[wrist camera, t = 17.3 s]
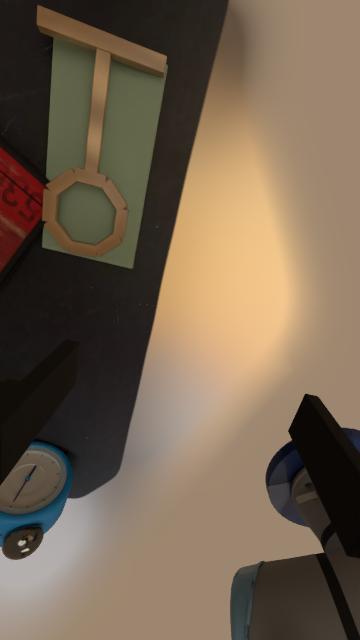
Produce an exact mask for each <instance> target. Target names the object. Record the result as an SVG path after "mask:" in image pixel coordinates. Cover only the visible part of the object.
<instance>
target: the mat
mask: <svg viewBox="0 0 360 640" xmlns="http://www.w3.org/2000/svg"><path fill="white" fill-rule="evenodd" d="M95 57H96V53H94V52H91V51H89V50H86V49H83V48H81V47H78V46H75V45H73V44H70V43H67V42H65V41H62V40H59V39H57V38H54V41H53V59H52V77H51V95H50V114H49V132H48V150H47V168H46V178H48V179H49V180H50V181H52V180H53V179H55V178H56V177H58V176H59V175H60V174H62V173H63V172H65V171H66V170H67V169H69V168H72V169H75V167H78V168H82V169H84V167H85V157H86V147H87V137H88V127H89V117H90V107H91V97H92V87H93V77H94V67H95ZM167 69H168V65H167V64H166V66H165V71H164V76H163V78H160V77H158V76H155V75H152V74H150V73H147V72H144V71H142V70H139V69H136V68H134V67H131V66H129V65H126V64H123V63H121V62H118V61H115V60H113V59H112V64H111V72H110V81H109V89H108V98H107V106H106V115H105V123H104V132H103V140H102V149H101V157H100V166H99V173H100V174H103V175H106V176H107V180H108V179H111V180H112V181H113V183H114V184H115V186H116V187H117V189H118V191H119V192H120V194H121V195H122V197H123V198H124V200H125V202H126V203H127V205H128V206H127V207H126V208H124V209H128V210H129V213H128V219H127V225H126V231H125V237H124V239H122V238H121V239H122V243H120V244H119V245H117V246H116V247H114V248H113V249H111V250H110V251H108V252H107V253H105V254H104V255H102V256H101V257H99V255H98V254H97V257H96V258H95V257H90V256H85V255H80V254H75V253H70V252H67V250H68V247H67V248H66V249H63V248H62V247H61V246H60V245H59V243H58V242H57V241H56V240H55V238H54V237H53V236H52V235H51V233H50V232H49V231H48V230H47V228H46V227H45V226H44V227H43V242H42V247H43V248H47V249H51V250H55V251H60V252H64V253H68V254H72V255H76V256H80V257H85V258H89V259H93V260H97V261H101V262H105V263H110V264H114V265H118V266H122V267H126V268H130V269H133V265H134V259H135V253H136V247H137V242H138V236H139V230H140V224H141V219H142V213H143V207H144V202H145V196H146V190H147V184H148V179H149V173H150V167H151V161H152V156H153V150H154V144H155V138H156V133H157V127H158V121H159V115H160V110H161V104H162V98H163V92H164V87H165V81H166V75H167ZM115 217H116V208H115V207H114V205H113V204H112V202H111V201H110V199H109V198H108V196H107V195H106V193H105V192H104V190H103V189H102V188H100V187H96V186H92V185H88V184H85V183H81V182H78V183H76V184H75V185H73V186H72V187H71V188H69V189H68V190H66V191H65V192H64V193H62V194H61V195H60V196H59V210H58V221H59V222H60V223H61V224H62V226H63V227H64V228H65V230H66V231H67V232H68V234H69V235H70V236H71V237H72V239H73V240H77V241H82V242H87V243H91V244H97V243H99V242H100V241H102V240H103V239H105V238H106V237H108V236H109V235H111V234H112V233H113V231H114V224H115Z"/></svg>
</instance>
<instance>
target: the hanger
mask: <svg viewBox="0 0 360 640" xmlns="http://www.w3.org/2000/svg"><path fill="white" fill-rule="evenodd" d="M37 26H38V28H39V30H40V31H41V33H43V34H46V35H49V36H51V37H54V38H57V39H59V40H62V41H65V42H67V43H70V44H73V45H75V46H78V47H81V48H83V49H86V50H89V51H91V52H94V53H96V57H95V67H94V77H93V87H92V97H91V107H90V117H89V127H88V137H87V147H86V157H85V167H84V169H82V168H78V167H75V169H72V168H69V169H67V170H66V171H65V172H63V173H62V174H60V175H59V176H58V177H56V178H55V179H53V180H52V181H51V182H49V183H48V184H46V186H47V188H48V189H44V191H43V210H42V221H46V223H45V224H44V226H45V227H46V228H47V230H48V231H49V232H50V233H51V235H52V236H53V237H54V238H55V240H56V241H57V242H58V243H59V245H60V246H61V247H62V248H63V249H66V248H67V247H68V250H67V252H70V253H75V254H80V255H85V256H90V257H95V258H96V257H97V254H98V255H99V257H101V256H102V255H104V254H105V253H107V252H108V251H110V250H111V249H113V248H114V247H116V246H117V245H119V244H120V243H122V239H124V237H125V231H126V225H127V219H128V213H129V210H128V209H124V208H126V207H127V206H128V205H127V203H126V202H125V200H124V198H123V197H122V195H121V194H120V192H119V191H118V189H117V187H116V186H115V184H114V183H113V181H112V180H111V179H108V180H107V176H106V175H103V174H100V173H99V166H100V157H101V149H102V140H103V132H104V123H105V115H106V106H107V98H108V89H109V81H110V72H111V64H112V59H113V60H115V61H118V62H121V63H123V64H126V65H129V66H131V67H134V68H136V69H139V70H142V71H144V72H147V73H150V74H152V75H155V76H158V77H160V78H163V76H164V71H165V66H166V60H167V56H165V55H162V54H160V53H157V52H155V51H152V50H150V49H147V48H145V47H142V46H140V45H137V44H135V43H132V42H130V41H127V40H125V39H122V38H119V37H117V36H114V35H112V34H109V33H107V32H104V31H102V30H99V29H97V28H94V27H92V26H89V25H87V24H84V23H82V22H79V21H77V20H74V19H72V18H69V17H67V16H64V15H62V14H59V13H57V12H54V11H52V10H49V9H47V8H44V7H42V6H39V5H37ZM78 182H81V183H85V184H88V185H92V186H96V187H100V188H102V189H103V190H104V192H105V193H106V195H107V196H108V198H109V199H110V201H111V202H112V204H113V205H114V207H115V208H116V217H115V224H114V231H113V233H112V234H111V235H109V236H108V237H106V238H105V239H103V240H102V241H100V242H99V243H97V244H91V243H87V242H82V241H77V240H73V239H72V237H71V236H70V235H69V234H68V232H67V231H66V230H65V228H64V227H63V226H62V224H61V223H60V222H59V221H58V210H59V196H60V195H61V194H62V193H64V192H65V191H66V190H68V189H69V188H71V187H72V186H73V185H75V184H76V183H78ZM121 238H122V239H121Z"/></svg>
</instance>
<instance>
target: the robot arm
mask: <svg viewBox="0 0 360 640" xmlns="http://www.w3.org/2000/svg"><path fill="white" fill-rule="evenodd" d="M79 345H80V342H75V341H71V340H67V339H66V340H65V341H64V342H63V343H62V344H61V345H60V346H58V347H57V348H56V349H55V350H54V351H53V352H52V353H51V354H50V355H49V356H48V357H46V358H45V359H44V360H43V361H42V362H41V363H40V364H39V365H38V366H37V367H36V368H34V369H33V370H32V371H31V372H30V373H29V374H28V375H27V376H26V377H25V378H24V379H22V380H21V381H16V380H11V379H8V380H6V381H4V382H1V383H0V486H1V484H2V483H3V482H4V480H5V479H6V478H7V476H8V475H9V473H10V472H11V471H12V469H13V468H14V467H15V465H16V464H17V463H18V461H19V460H20V458H21V457H22V456H23V454H24V453H25V452H26V450H27V449H28V448H29V446H30V445H31V443H32V442H33V441H34V439H35V438H36V437H37V435H38V434H39V432H40V431H41V430H42V428H43V427H44V426H45V424H46V423H47V422H48V420H49V419H50V417H51V416H52V415H53V413H54V412H55V411H56V409H57V408H58V407H59V405H60V404H61V402H62V401H63V400H64V398H65V397H66V396H67V394H68V393H69V391H70V390H71V389H72V387H73V386H74V385H75V379H76V371H77V362H78V354H79ZM288 432H289V434H290V436H291V438H292V440H293V443H294V445H295V447H296V449H297V451H298V453H299V455H300V457H301V460H302V462H303V464H304V466H303V467H302V468H300V469H299V470H298V471H297V473H296V474H295V475H294V477H293V479H292V481H291V484H290V495H291V498H292V500H293V503H294V505H295V507H296V509H297V511H298V512H299V514H300V515H301V517H302V518H303V519H304V521H305V522H306V523H307V525H308V526H309V527H310V529H311V530H312V531H313V533H314V534H315V535H316V537H317V538H318V539H319V541H320V543H321V545H322V547H323V550H324V552H325V553H319V554H313V555H307V556H300V557H295V558H289V559H283V560H275V561H269V562H264V561H261V562H259V563H258V564H255V565H251V566H246V567H243V568H240V569H239V570H238V571H237V572H236V574H235V576H234V578H233V583H232V587H231V600H230V618H231V636H232V640H360V453H359V451H358V450H357V449H356V447H355V446H354V445H353V443H352V442H351V441H350V439H349V438H348V436H347V435H346V434H345V432H344V431H343V430H342V428H341V427H340V426H339V424H338V423H337V422H336V421H335V419H334V418H333V416H332V415H331V413H330V412H329V411H328V409H327V408H326V407H325V405H324V404H323V403H322V401H321V400H320V399H319V397H317V396H314V395H309V394H305V395H304V398H303V400H302V402H301V404H300V406H299V409H298V411H297V413H296V415H295V418H294V419H293V422H292V424H291V426H290V428H289V430H288Z"/></svg>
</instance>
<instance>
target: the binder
mask: <svg viewBox="0 0 360 640" xmlns="http://www.w3.org/2000/svg"><path fill="white" fill-rule="evenodd" d="M49 182H51V181H50V180H49V179H48V178H46V177H45V176H44V175H43V174H42V173H41V172H40V171H39V170H38V169H37V168H36V167H35V166H33V165H32V164H31V163H30V162H29V161H28V160H27V159H26V158H25V157H24V156H23V155H21V154H20V153H19V152H18V151H17V150H16V149H15V148H14V147H13V146H12V145H11V144H9V143H8V142H7V141H6V140H5V139H4V138H3V137H2V136H1V135H0V289H2V288H4V286H5V284H6V283H7V281H8V280H9V278H10V277H11V275H12V274H13V272H14V271H15V269H16V268H17V266H18V265H19V263H20V262H21V260H22V259H23V257H24V256H25V254H26V253H27V251H28V250H29V248H30V247H31V245H32V244H33V242H34V241H35V240H36V238H37V236H38V235H39V234H40V232H41V231H42V229H43V227H44V224H45V223H46V221H42V210H43V191H44V189H48V188H47V186H46V184H48V183H49Z"/></svg>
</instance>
